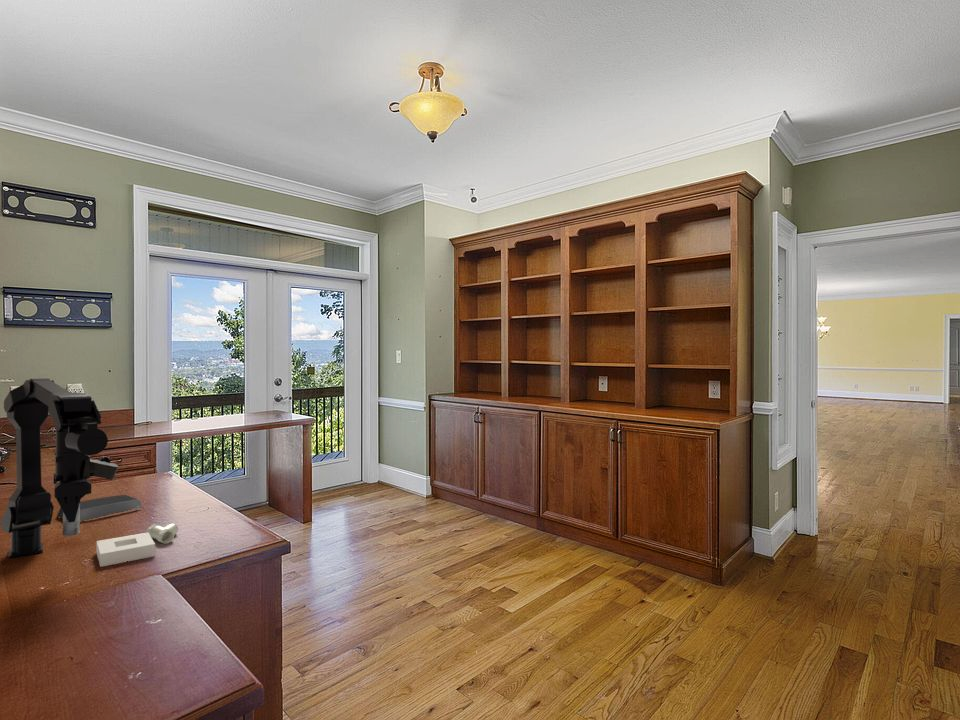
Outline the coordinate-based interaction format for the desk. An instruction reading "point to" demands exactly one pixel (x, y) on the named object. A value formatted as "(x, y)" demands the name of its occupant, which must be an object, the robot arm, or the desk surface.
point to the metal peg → (71, 525)
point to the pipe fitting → (163, 532)
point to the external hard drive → (105, 506)
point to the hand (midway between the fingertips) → (71, 520)
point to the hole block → (125, 549)
